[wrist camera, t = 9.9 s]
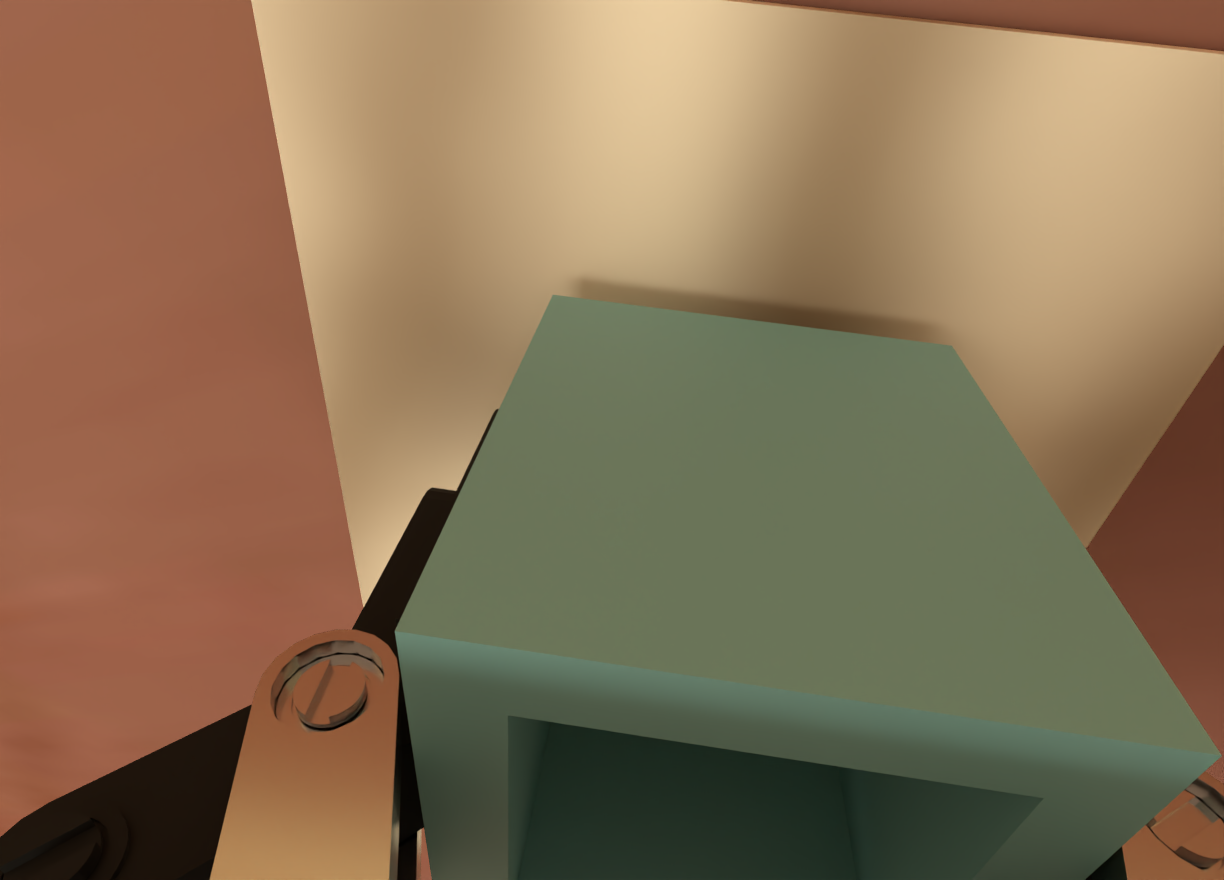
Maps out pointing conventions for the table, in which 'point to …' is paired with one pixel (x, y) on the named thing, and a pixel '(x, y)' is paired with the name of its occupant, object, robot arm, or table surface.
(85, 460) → the table surface
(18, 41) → the table surface
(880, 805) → the teal wall cubby
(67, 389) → the table surface
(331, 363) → the seat plate
